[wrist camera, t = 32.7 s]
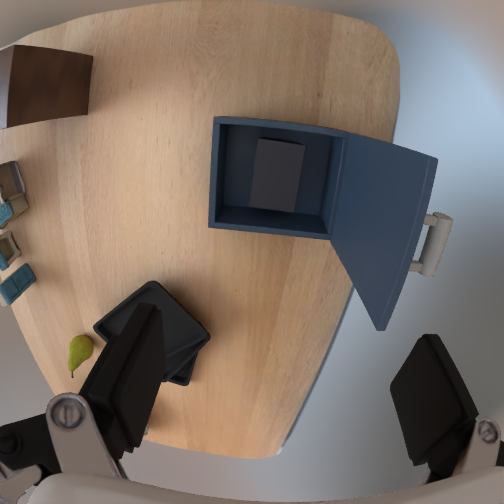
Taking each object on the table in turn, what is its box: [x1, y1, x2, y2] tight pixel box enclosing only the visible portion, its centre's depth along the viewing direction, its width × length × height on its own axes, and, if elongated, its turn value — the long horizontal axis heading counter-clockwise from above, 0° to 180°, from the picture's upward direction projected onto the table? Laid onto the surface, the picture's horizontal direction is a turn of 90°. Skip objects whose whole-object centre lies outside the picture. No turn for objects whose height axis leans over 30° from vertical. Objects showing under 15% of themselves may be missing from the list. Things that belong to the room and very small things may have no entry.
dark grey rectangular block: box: [249, 137, 306, 213], centre depth 37 cm, size 9×6×5 cm, turn 173°
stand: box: [0, 45, 93, 129], centre depth 27 cm, size 10×10×18 cm
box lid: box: [330, 133, 453, 331], centre depth 26 cm, size 16×14×5 cm
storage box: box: [208, 116, 350, 240], centre depth 37 cm, size 16×14×8 cm
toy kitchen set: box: [0, 192, 36, 307], centre depth 43 cm, size 18×14×11 cm
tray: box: [93, 281, 211, 386], centre depth 53 cm, size 30×23×5 cm
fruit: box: [68, 335, 94, 378], centre depth 54 cm, size 6×6×12 cm
